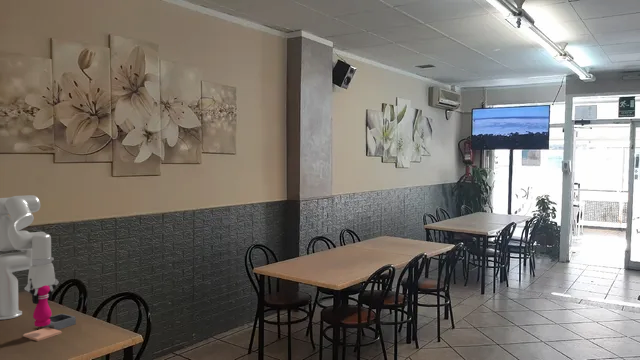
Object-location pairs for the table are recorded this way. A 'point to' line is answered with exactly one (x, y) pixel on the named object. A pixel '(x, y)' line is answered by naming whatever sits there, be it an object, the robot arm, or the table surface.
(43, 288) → the pepper mill
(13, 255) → the robot arm
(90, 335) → the table surface
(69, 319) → the holder sleeve
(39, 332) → the plate
